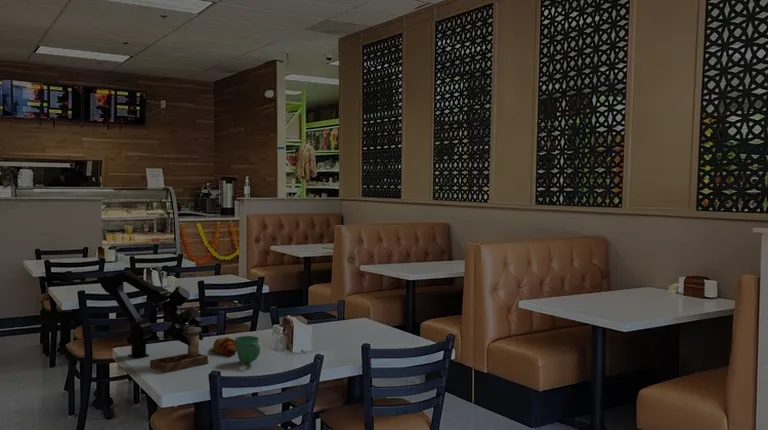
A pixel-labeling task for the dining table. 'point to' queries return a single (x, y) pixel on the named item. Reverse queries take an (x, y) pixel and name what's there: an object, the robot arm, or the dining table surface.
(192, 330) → the peg
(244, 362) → the mug
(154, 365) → the tray
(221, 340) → the croissant
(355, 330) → the dining table surface
